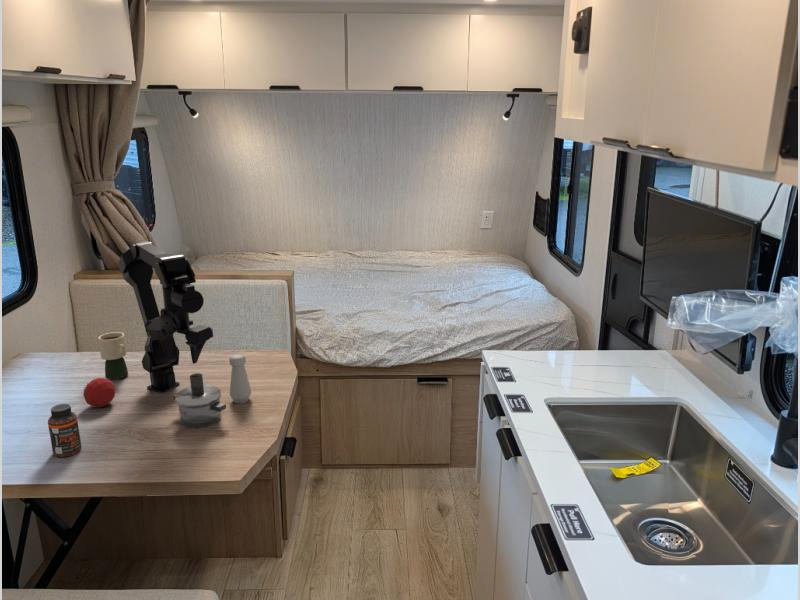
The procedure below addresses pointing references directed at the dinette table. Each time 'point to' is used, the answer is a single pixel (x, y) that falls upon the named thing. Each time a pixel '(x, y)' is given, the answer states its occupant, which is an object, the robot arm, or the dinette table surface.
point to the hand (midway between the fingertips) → (181, 359)
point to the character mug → (113, 354)
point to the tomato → (99, 392)
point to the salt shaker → (239, 380)
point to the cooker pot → (201, 414)
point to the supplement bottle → (64, 431)
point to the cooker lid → (197, 393)
